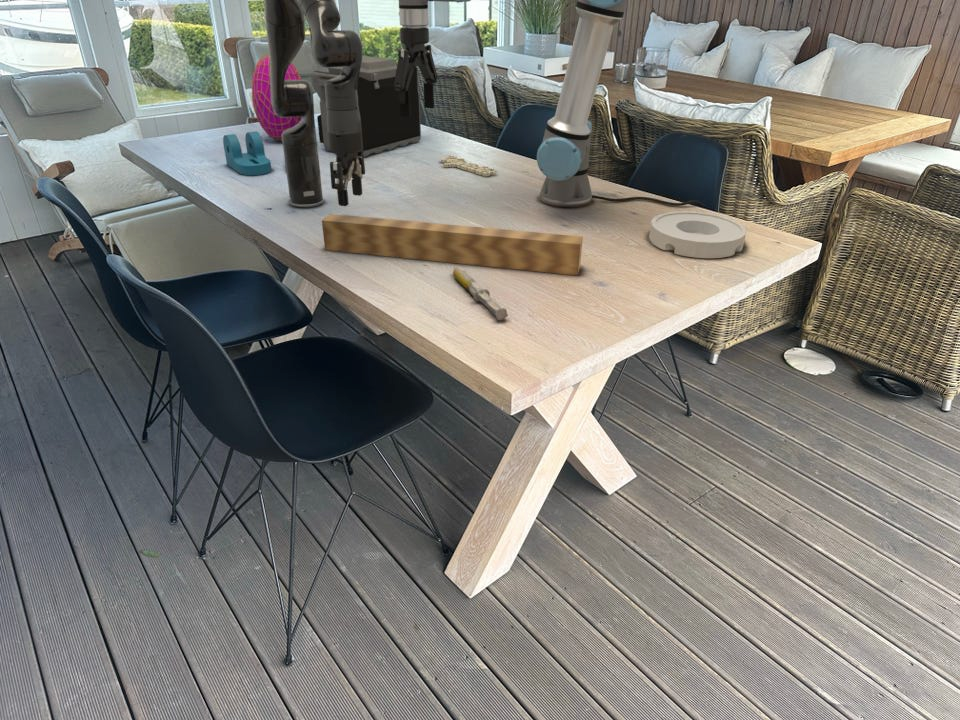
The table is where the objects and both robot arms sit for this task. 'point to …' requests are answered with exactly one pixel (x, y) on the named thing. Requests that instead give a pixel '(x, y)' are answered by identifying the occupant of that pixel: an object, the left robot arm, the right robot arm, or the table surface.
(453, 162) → the decorative sign
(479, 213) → the table surface
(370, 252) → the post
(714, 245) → the ashtray
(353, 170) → the left robot arm
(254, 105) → the decorative egg
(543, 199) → the right robot arm
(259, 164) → the camera mount
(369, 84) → the cooler box
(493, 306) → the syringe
